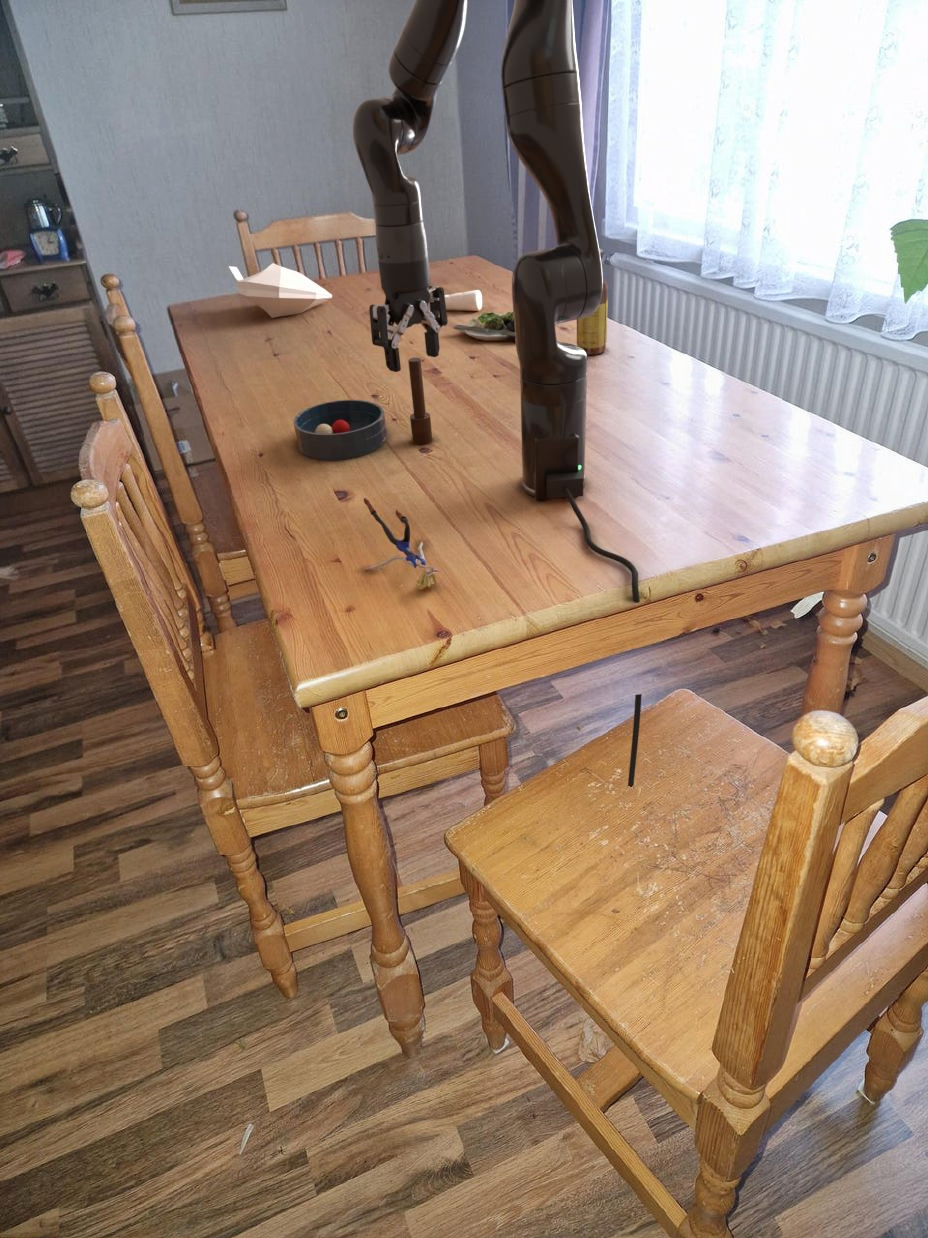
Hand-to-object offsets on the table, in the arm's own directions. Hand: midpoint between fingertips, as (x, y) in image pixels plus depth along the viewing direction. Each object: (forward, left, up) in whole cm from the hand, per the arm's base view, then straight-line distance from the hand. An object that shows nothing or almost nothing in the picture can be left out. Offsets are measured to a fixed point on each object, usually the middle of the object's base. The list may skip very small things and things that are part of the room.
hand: (414, 363), depth 130 cm
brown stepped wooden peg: (+1, 0, -14) cm, 14 cm away
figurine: (-41, +2, -14) cm, 43 cm away
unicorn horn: (+80, -3, -14) cm, 82 cm away
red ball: (+3, +14, -12) cm, 18 cm away
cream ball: (+2, +17, -12) cm, 20 cm away
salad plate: (+58, -18, -14) cm, 63 cm away
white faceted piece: (+89, +38, -14) cm, 98 cm away
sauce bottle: (+40, -35, -14) cm, 55 cm away
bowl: (+3, +14, -14) cm, 20 cm away
